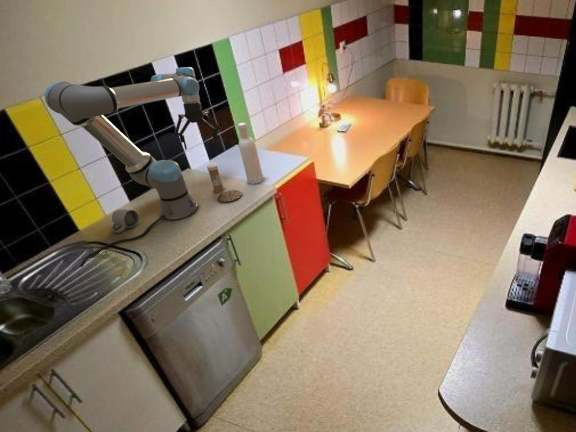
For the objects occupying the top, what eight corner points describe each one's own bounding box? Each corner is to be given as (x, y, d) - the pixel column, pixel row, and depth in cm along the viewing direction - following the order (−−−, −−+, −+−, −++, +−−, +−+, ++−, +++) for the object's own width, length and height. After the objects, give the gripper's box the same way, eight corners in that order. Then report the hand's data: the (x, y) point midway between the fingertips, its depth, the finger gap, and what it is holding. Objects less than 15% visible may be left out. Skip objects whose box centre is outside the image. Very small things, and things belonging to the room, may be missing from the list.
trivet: (222, 205, 192) (221, 204, 192) (214, 196, 200) (214, 195, 200) (245, 197, 198) (244, 196, 197) (236, 189, 205) (236, 187, 205)
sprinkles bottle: (212, 191, 205) (204, 166, 198) (218, 187, 208) (211, 162, 201) (219, 192, 203) (211, 167, 196) (226, 188, 207) (218, 163, 199)
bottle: (266, 176, 215) (253, 120, 199) (260, 184, 208) (246, 126, 192) (251, 176, 216) (237, 120, 200) (245, 183, 210) (230, 126, 194)
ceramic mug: (127, 219, 187) (120, 204, 182) (142, 221, 184) (135, 206, 180) (108, 232, 178) (100, 217, 174) (123, 235, 176) (115, 220, 172)
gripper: (218, 98, 204) (226, 141, 212) (161, 104, 193) (172, 149, 202) (220, 100, 198) (228, 144, 206) (162, 106, 187) (173, 152, 195)
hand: (201, 147), depth 204 cm, fingers open, 13 cm apart
